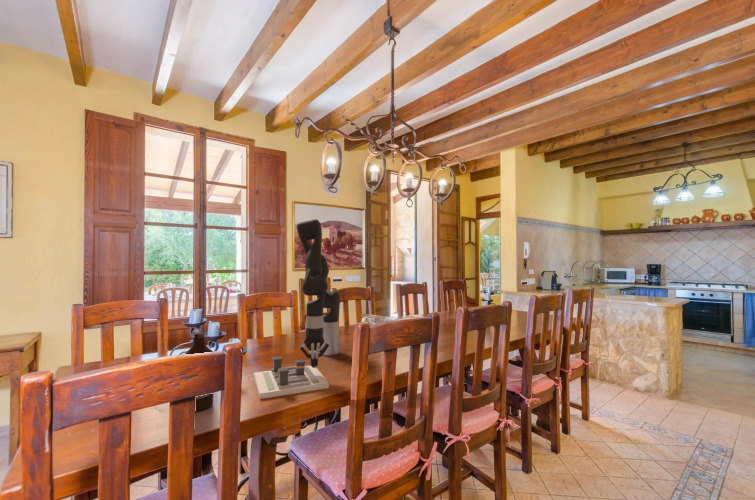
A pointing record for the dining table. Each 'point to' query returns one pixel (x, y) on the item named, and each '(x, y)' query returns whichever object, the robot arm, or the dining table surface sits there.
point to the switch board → (288, 390)
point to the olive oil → (200, 347)
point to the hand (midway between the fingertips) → (313, 367)
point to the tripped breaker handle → (300, 367)
